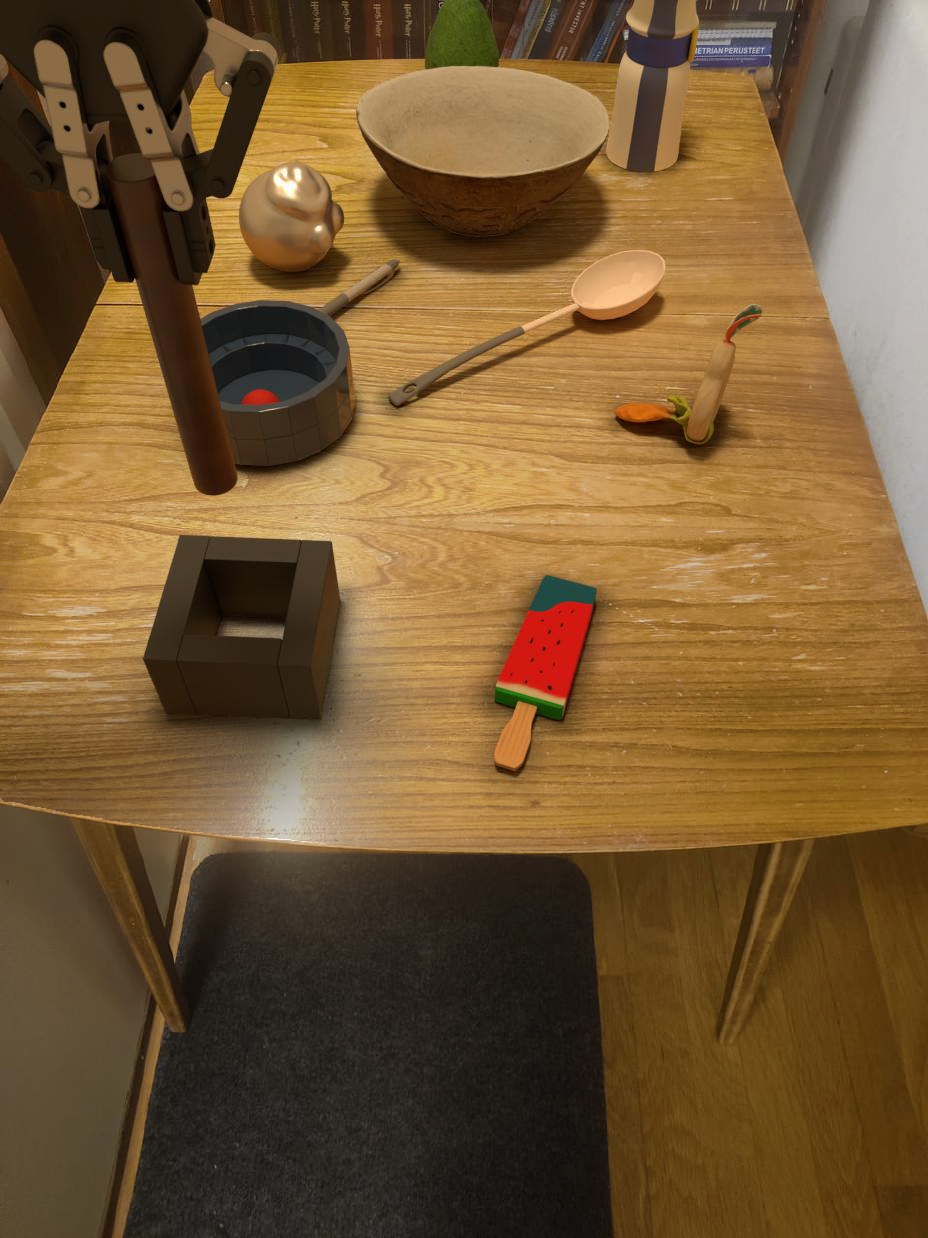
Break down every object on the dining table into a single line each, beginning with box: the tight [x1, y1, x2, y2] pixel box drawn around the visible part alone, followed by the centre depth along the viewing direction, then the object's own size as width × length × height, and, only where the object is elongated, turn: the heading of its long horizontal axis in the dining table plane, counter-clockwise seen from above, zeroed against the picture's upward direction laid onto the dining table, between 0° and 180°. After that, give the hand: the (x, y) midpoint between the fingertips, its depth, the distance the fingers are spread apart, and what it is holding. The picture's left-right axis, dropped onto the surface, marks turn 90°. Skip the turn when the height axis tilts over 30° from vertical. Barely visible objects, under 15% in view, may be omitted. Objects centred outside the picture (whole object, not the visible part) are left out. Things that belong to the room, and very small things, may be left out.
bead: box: [241, 389, 280, 405], centre depth 79 cm, size 3×3×3 cm
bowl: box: [355, 66, 610, 238], centre depth 97 cm, size 24×24×10 cm
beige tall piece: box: [614, 303, 763, 445], centre depth 77 cm, size 8×8×12 cm
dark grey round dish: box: [200, 299, 356, 467], centre depth 79 cm, size 14×14×6 cm
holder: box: [142, 534, 341, 721], centre depth 65 cm, size 10×10×6 cm
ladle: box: [387, 249, 667, 407], centre depth 87 cm, size 6×28×5 cm, turn 124°
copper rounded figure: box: [238, 161, 345, 273], centre depth 91 cm, size 9×10×10 cm
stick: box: [105, 152, 239, 497], centre depth 49 cm, size 2×2×18 cm
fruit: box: [424, 0, 500, 70], centre depth 109 cm, size 8×8×12 cm
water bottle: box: [605, 0, 700, 173], centre depth 98 cm, size 8×9×25 cm
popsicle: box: [493, 574, 598, 772], centre depth 65 cm, size 4×2×15 cm
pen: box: [318, 258, 401, 317], centre depth 90 cm, size 1×14×1 cm, turn 143°
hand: (162, 272), depth 45 cm, fingers closed on stick, 2 cm apart
